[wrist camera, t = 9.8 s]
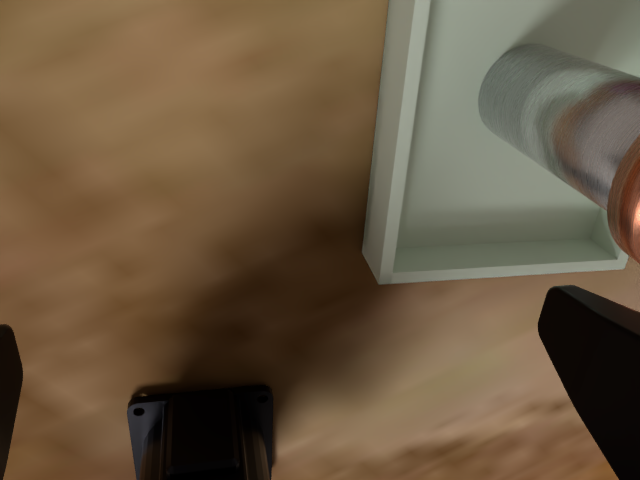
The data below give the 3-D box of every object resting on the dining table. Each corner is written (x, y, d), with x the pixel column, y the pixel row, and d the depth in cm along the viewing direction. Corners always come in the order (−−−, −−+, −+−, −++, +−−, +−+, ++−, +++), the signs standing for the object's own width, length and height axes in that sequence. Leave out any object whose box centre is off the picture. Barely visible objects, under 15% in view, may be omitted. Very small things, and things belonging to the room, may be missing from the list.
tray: (588, 241, 26) (624, 268, 24) (361, 252, 24) (378, 284, 22) (703, -111, 20) (766, -116, 17) (404, -141, 17) (434, -150, 15)
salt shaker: (562, 152, 23) (767, 277, 15) (452, 154, 22) (608, 288, 14) (597, 27, 21) (862, 95, 12) (476, 23, 20) (679, 93, 11)
